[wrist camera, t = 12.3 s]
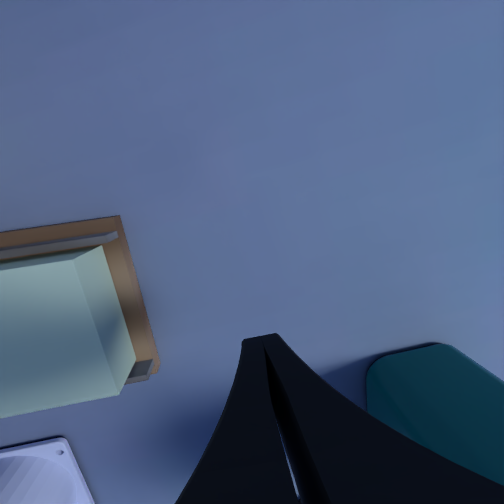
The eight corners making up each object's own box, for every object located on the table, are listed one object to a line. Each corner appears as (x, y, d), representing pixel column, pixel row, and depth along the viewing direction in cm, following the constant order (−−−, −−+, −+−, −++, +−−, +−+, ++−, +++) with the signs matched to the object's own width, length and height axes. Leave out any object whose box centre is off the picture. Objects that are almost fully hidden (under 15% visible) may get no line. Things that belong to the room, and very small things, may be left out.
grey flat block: (136, 358, 17) (119, 394, 14) (-7, 385, 16) (-56, 429, 13) (101, 245, 15) (72, 259, 12) (-65, 270, 14) (-140, 292, 11)
